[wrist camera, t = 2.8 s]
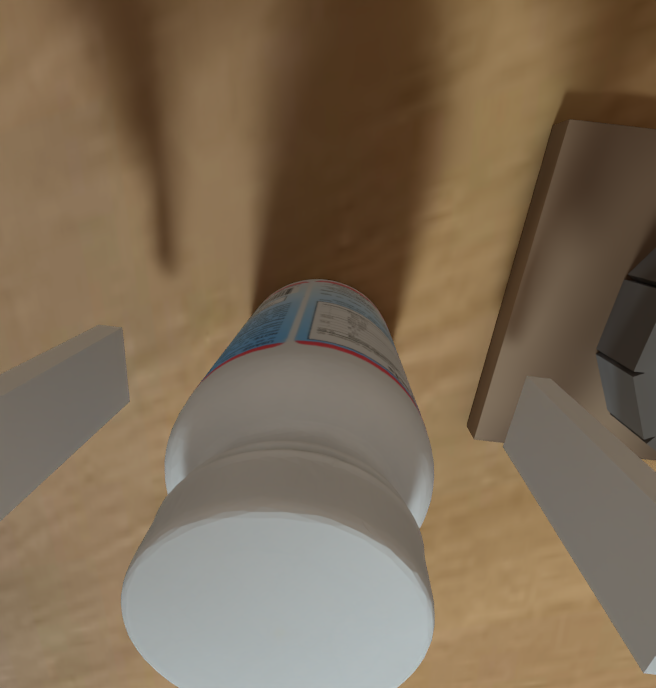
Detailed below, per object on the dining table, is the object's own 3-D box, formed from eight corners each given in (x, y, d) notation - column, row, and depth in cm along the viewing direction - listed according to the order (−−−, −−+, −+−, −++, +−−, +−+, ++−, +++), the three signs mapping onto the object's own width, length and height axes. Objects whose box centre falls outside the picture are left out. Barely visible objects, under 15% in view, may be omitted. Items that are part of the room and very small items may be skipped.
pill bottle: (265, 415, 17) (141, 750, 7) (235, 286, 15) (-16, 482, 5) (397, 402, 17) (485, 744, 6) (385, 266, 15) (490, 437, 4)
